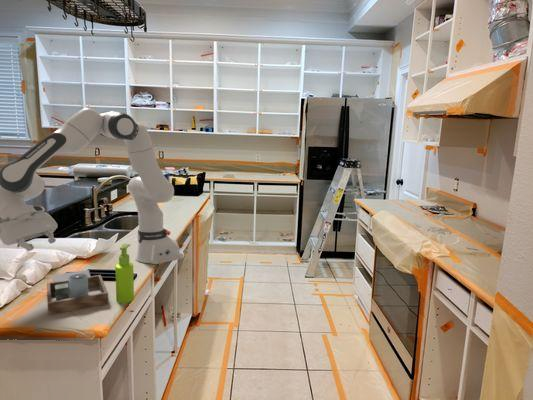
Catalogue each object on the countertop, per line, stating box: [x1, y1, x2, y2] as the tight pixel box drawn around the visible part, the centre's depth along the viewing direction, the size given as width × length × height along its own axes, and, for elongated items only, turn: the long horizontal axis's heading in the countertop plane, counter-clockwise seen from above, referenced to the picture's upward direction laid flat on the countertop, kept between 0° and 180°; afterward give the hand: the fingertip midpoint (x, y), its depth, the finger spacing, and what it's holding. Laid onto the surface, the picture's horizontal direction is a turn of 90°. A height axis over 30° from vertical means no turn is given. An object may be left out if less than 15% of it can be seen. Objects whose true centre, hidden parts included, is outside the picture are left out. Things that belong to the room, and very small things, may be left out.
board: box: [52, 269, 91, 282], centre depth 143 cm, size 13×9×2 cm
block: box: [54, 283, 69, 301], centre depth 129 cm, size 4×4×4 cm
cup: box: [68, 273, 90, 299], centre depth 126 cm, size 6×6×9 cm
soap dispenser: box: [115, 243, 135, 304], centre depth 128 cm, size 6×7×20 cm
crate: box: [46, 274, 109, 316], centre depth 128 cm, size 18×18×4 cm
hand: (42, 245), depth 127 cm, fingers open, 8 cm apart
